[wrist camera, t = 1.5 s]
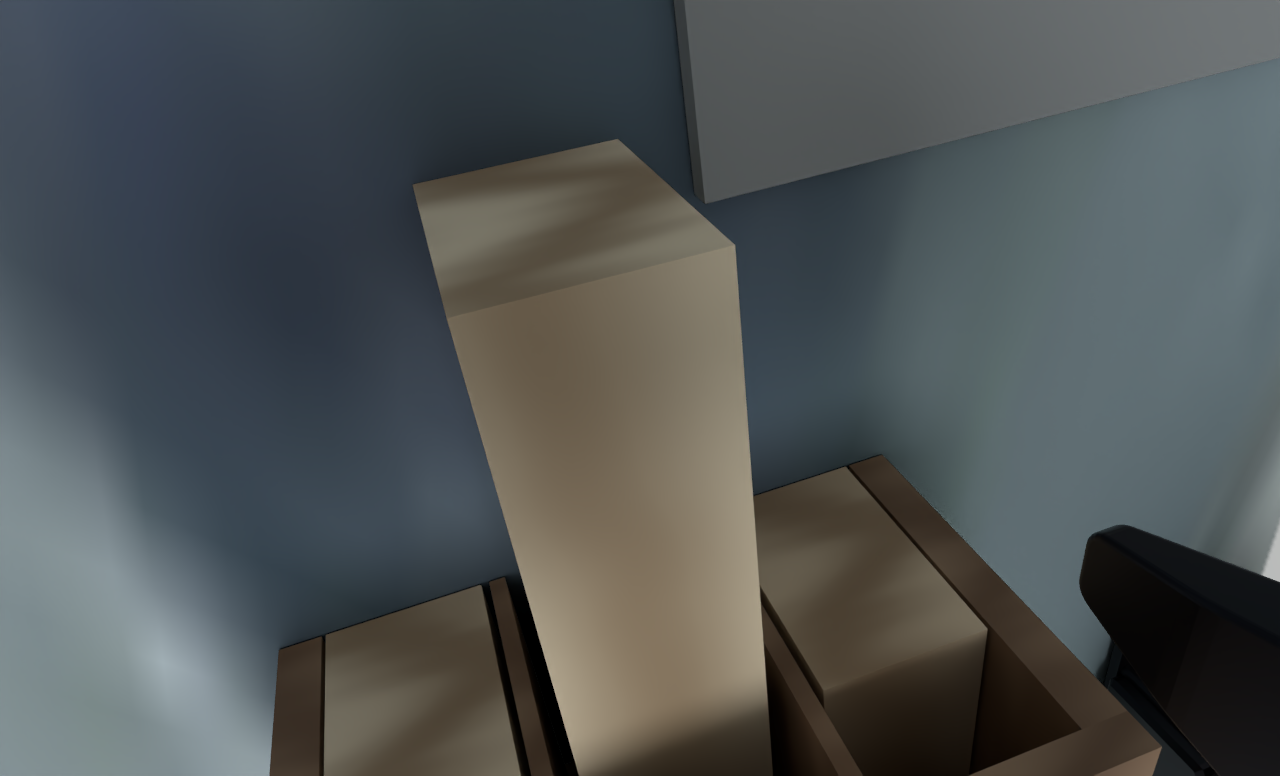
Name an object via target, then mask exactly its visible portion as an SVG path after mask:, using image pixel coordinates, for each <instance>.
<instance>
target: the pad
mask: <svg viewBox="0 0 1280 776" xmlns="http://www.w3.org/2000/svg"><path fill="white" fill-rule="evenodd" d="M674 9H675V18H676V27H677V37H678V46H679V55H680V64H681V74H682V83H683V92H684V101H685V110H686V120H687V129H688V138H689V147H690V156H691V166H692V175H693V184H694V193H695V196H697V197H698V198H699V199H700V200H701V201H702V202H703V203H705V204H707V203H711V202H715V201H719V200H723V199H727V198H731V197H734V196H738V195H742V194H746V193H750V192H754V191H758V190H762V189H766V188H770V187H774V186H778V185H782V184H786V183H789V182H793V181H797V180H801V179H805V178H809V177H813V176H817V175H821V174H825V173H829V172H833V171H837V170H841V169H845V168H848V167H852V166H856V165H860V164H864V163H868V162H872V161H876V160H880V159H884V158H888V157H892V156H896V155H900V154H903V153H907V152H911V151H915V150H919V149H923V148H927V147H931V146H935V145H939V144H943V143H947V142H951V141H955V140H959V139H962V138H966V137H970V136H974V135H978V134H982V133H986V132H990V131H994V130H998V129H1002V128H1006V127H1010V126H1014V125H1017V124H1021V123H1025V122H1029V121H1033V120H1037V119H1041V118H1045V117H1049V116H1053V115H1057V114H1061V113H1065V112H1069V111H1072V110H1076V109H1080V108H1084V107H1088V106H1092V105H1096V104H1100V103H1104V102H1108V101H1112V100H1116V99H1120V98H1124V97H1128V96H1131V95H1135V94H1139V93H1143V92H1147V91H1151V90H1155V89H1159V88H1163V87H1167V86H1171V85H1175V84H1179V83H1183V82H1186V81H1190V80H1194V79H1198V78H1202V77H1206V76H1210V75H1214V74H1218V73H1222V72H1226V71H1230V70H1234V69H1238V68H1242V67H1245V66H1249V65H1253V64H1257V63H1261V62H1265V61H1269V60H1273V59H1277V58H1280V0H674Z"/></svg>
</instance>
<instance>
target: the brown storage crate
mask: <svg viewBox="0 0 1280 776" xmlns="http://www.w3.org/2000/svg"><path fill="white" fill-rule="evenodd" d="M753 503H754V517H755V531H756V545H757V559H758V573H759V587H760V601H761V615H762V629H763V643H764V657H765V671H766V685H767V699H768V713H769V727H770V741H771V755H772V769H773V776H1152V775H1153V772H1154V769H1155V766H1156V763H1157V760H1158V757H1159V754H1160V751H1161V748H1162V746H1161V745H1160V744H1159V743H1158V742H1157V741H1156V740H1155V739H1154V738H1153V737H1152V736H1151V735H1150V734H1149V733H1148V732H1147V731H1146V730H1145V729H1144V727H1143V726H1142V725H1141V724H1140V723H1139V722H1138V721H1137V720H1136V719H1135V718H1134V717H1133V716H1132V715H1131V714H1130V713H1129V712H1128V711H1127V710H1126V709H1125V708H1124V707H1123V706H1122V705H1121V703H1120V702H1119V701H1118V700H1117V699H1116V698H1115V697H1114V696H1113V695H1112V694H1111V693H1110V692H1109V691H1108V690H1107V689H1106V688H1105V687H1104V686H1103V685H1102V684H1101V683H1100V682H1099V680H1098V679H1097V678H1096V677H1095V676H1094V675H1093V674H1092V673H1091V672H1090V671H1089V670H1088V669H1087V668H1086V667H1085V666H1084V665H1083V664H1082V663H1081V662H1080V661H1079V660H1078V659H1077V658H1076V656H1075V655H1074V654H1073V653H1072V652H1071V651H1070V650H1069V649H1068V648H1067V647H1066V646H1065V645H1064V644H1063V643H1062V642H1061V641H1060V640H1059V639H1058V638H1057V637H1056V636H1055V635H1054V633H1053V632H1052V631H1051V630H1050V629H1049V628H1048V627H1047V626H1046V625H1045V624H1044V623H1043V622H1042V621H1041V620H1040V619H1039V618H1038V617H1037V616H1036V615H1035V614H1034V613H1033V612H1032V611H1031V609H1030V608H1029V607H1028V606H1027V605H1026V604H1025V603H1024V602H1023V601H1022V600H1021V599H1020V598H1019V597H1018V596H1017V595H1016V594H1015V593H1014V592H1013V591H1012V590H1011V589H1010V588H1009V586H1008V585H1007V584H1006V583H1005V582H1004V581H1003V580H1002V579H1001V578H1000V577H999V576H998V575H997V574H996V573H995V572H994V571H993V570H992V569H991V568H990V567H989V566H988V565H987V564H986V562H985V561H984V560H983V559H982V558H981V557H980V556H979V555H978V554H977V553H976V552H975V551H974V550H973V549H972V548H971V547H970V546H969V545H968V544H967V543H966V542H965V541H964V539H963V538H962V537H961V536H960V535H959V534H958V533H957V532H956V531H955V530H954V529H953V528H952V527H951V526H950V525H949V524H948V523H947V522H946V521H945V520H944V519H943V518H942V517H941V515H940V514H939V513H938V512H937V511H936V510H935V509H934V508H933V507H932V506H931V505H930V504H929V503H928V502H927V501H926V500H925V499H924V498H923V497H922V496H921V495H920V494H919V492H918V491H917V490H916V489H915V488H914V487H913V486H912V485H911V484H910V483H909V482H908V481H907V480H906V479H905V478H904V477H903V476H902V475H901V474H900V473H899V472H898V471H897V470H896V468H895V467H894V466H893V465H892V464H891V463H890V462H889V461H888V460H887V459H886V458H885V457H884V456H883V455H880V456H877V457H874V458H870V459H867V460H864V461H861V462H858V463H855V464H852V465H849V470H848V469H847V468H846V467H843V468H840V469H836V470H833V471H830V472H827V473H824V474H821V475H818V476H815V477H812V478H809V479H806V480H803V481H799V482H796V483H793V484H790V485H787V486H784V487H781V488H778V489H775V490H772V491H769V492H766V493H762V494H759V495H756V496H753ZM489 584H490V589H491V593H492V598H493V603H494V607H495V612H496V616H497V621H498V625H499V630H500V635H501V639H502V643H501V641H500V638H499V635H498V632H497V629H496V626H495V623H494V620H493V617H492V615H491V612H490V609H489V606H488V603H487V600H486V597H485V594H484V592H483V589H482V586H481V585H478V586H475V587H472V588H469V589H466V590H463V591H460V592H457V593H454V594H451V595H448V596H445V597H441V598H438V599H435V600H432V601H429V602H426V603H423V604H420V605H417V606H414V607H411V608H408V609H404V610H401V611H398V612H395V613H392V614H389V615H386V616H383V617H380V618H377V619H374V620H370V621H367V622H364V623H361V624H358V625H355V626H352V627H349V628H346V629H343V630H340V631H337V632H333V633H330V634H327V635H326V644H325V642H324V640H323V638H322V636H321V637H318V638H315V639H312V640H309V641H306V642H303V643H299V644H296V645H293V646H290V647H287V648H284V649H281V650H279V655H278V668H277V682H276V695H275V709H274V722H273V735H272V749H271V762H270V776H579V774H578V771H577V767H576V764H575V761H572V762H570V763H567V764H565V762H564V759H563V756H562V753H561V750H560V747H559V744H558V741H557V737H556V734H555V731H554V728H553V725H552V722H551V719H550V716H549V713H548V710H547V706H546V703H545V700H544V697H543V694H542V691H541V688H540V685H539V682H538V679H537V676H536V672H535V669H534V666H533V663H532V660H531V657H530V654H529V651H528V648H527V645H526V641H525V638H524V635H523V632H522V629H521V626H520V623H519V620H518V617H517V614H516V610H515V607H514V604H513V601H512V598H511V595H510V592H509V589H508V586H507V583H506V579H505V577H503V578H500V579H497V580H494V581H491V582H489ZM502 644H503V646H502ZM503 648H504V649H503Z"/></svg>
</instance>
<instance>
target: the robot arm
mask: <svg viewBox="0 0 1280 776" xmlns="http://www.w3.org/2000/svg"><path fill="white" fill-rule="evenodd" d="M1079 585H1080V590H1081V593H1082V596H1083V598H1084V600H1085V601H1086V603H1087V605H1088V606H1089V607H1090V609H1091V610H1092V612H1093V613H1094V614H1095V616H1096V617H1097V619H1098V620H1099V621H1100V623H1101V624H1102V626H1103V627H1104V628H1105V630H1106V631H1107V633H1108V634H1109V635H1110V637H1111V638H1112V640H1113V641H1114V642H1115V644H1114V648H1113V652H1112V656H1111V659H1110V663H1109V667H1108V671H1107V675H1106V679H1105V683H1104V687H1105V688H1106V689H1107V690H1108V691H1109V692H1110V693H1111V694H1112V695H1113V696H1114V697H1115V698H1116V699H1117V700H1118V701H1119V702H1120V703H1121V705H1122V706H1123V707H1124V708H1125V709H1126V710H1127V711H1128V712H1129V713H1130V714H1131V715H1132V716H1133V717H1134V718H1135V719H1136V720H1137V721H1138V722H1139V723H1140V724H1141V725H1142V726H1143V727H1144V729H1145V730H1146V731H1147V732H1148V733H1149V734H1150V735H1151V736H1152V737H1153V738H1154V739H1155V740H1156V741H1157V742H1158V743H1159V744H1160V745H1161V746H1162V748H1161V751H1160V754H1159V757H1158V760H1157V763H1156V766H1155V769H1154V772H1153V775H1152V776H1280V582H1278V581H1275V580H1273V579H1270V578H1267V577H1265V576H1262V575H1259V574H1257V573H1254V572H1252V571H1249V570H1246V569H1244V568H1241V567H1238V566H1236V565H1233V564H1230V563H1228V562H1225V561H1222V560H1220V559H1217V558H1214V557H1212V556H1209V555H1206V554H1204V553H1201V552H1198V551H1196V550H1193V549H1191V548H1188V547H1185V546H1183V545H1180V544H1177V543H1175V542H1172V541H1169V540H1167V539H1164V538H1161V537H1159V536H1156V535H1153V534H1151V533H1148V532H1145V531H1143V530H1140V529H1137V528H1135V527H1132V526H1128V525H1116V526H1113V527H1110V528H1107V529H1104V530H1102V531H1099V532H1096V533H1094V534H1092V535H1091V536H1090V537H1089V539H1088V541H1087V545H1086V549H1085V554H1084V559H1083V564H1082V569H1081V574H1080V579H1079Z"/></svg>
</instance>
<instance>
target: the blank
mask: <svg viewBox="0 0 1280 776" xmlns="http://www.w3.org/2000/svg"><path fill="white" fill-rule="evenodd" d="M413 189H414V193H415V197H416V201H417V205H418V209H419V213H420V216H421V220H422V224H423V228H424V232H425V236H426V240H427V244H428V248H429V252H430V255H431V259H432V263H433V267H434V271H435V275H436V279H437V283H438V287H439V291H440V295H441V298H442V302H443V306H444V310H445V314H446V318H447V321H448V325H449V328H450V332H451V335H452V339H453V342H454V346H455V349H456V353H457V356H458V359H459V363H460V366H461V370H462V373H463V377H464V380H465V384H466V387H467V391H468V394H469V397H470V401H471V404H472V408H473V411H474V415H475V418H476V422H477V425H478V429H479V432H480V435H481V439H482V442H483V446H484V449H485V453H486V456H487V460H488V463H489V467H490V470H491V473H492V477H493V480H494V484H495V487H496V491H497V494H498V498H499V501H500V505H501V508H502V511H503V515H504V518H505V522H506V525H507V529H508V532H509V536H510V539H511V543H512V546H513V549H514V553H515V556H516V560H517V563H518V567H519V570H520V574H521V577H522V581H523V584H524V587H525V591H526V594H527V598H528V601H529V605H530V608H531V612H532V615H533V619H534V622H535V625H536V629H537V632H538V636H539V639H540V643H541V646H542V650H543V653H544V657H545V660H546V663H547V667H548V670H549V674H550V677H551V681H552V684H553V688H554V691H555V695H556V698H557V701H558V705H559V708H560V712H561V715H562V719H563V722H564V726H565V729H566V733H567V736H568V739H569V743H570V746H571V750H572V753H573V757H574V760H575V764H576V767H577V771H578V774H579V776H773V769H772V755H771V741H770V727H769V713H768V699H767V685H766V671H765V657H764V643H763V629H762V615H761V601H760V587H759V573H758V559H757V545H756V531H755V517H754V503H753V489H752V475H751V461H750V447H749V433H748V419H747V405H746V391H745V377H744V362H743V348H742V334H741V320H740V306H739V292H738V278H737V264H736V250H735V245H734V244H733V243H732V242H731V241H730V240H729V239H728V238H727V237H726V236H725V235H723V234H722V233H721V232H720V231H719V230H718V229H717V228H716V227H715V226H713V225H712V224H711V223H710V222H709V221H708V220H707V219H706V218H705V217H704V216H702V215H701V214H700V213H699V212H698V211H697V210H696V209H695V208H694V207H693V206H691V205H690V204H689V203H688V202H687V201H686V200H685V199H684V198H683V197H681V196H680V195H679V194H678V193H677V192H676V191H675V190H674V189H673V188H672V187H670V186H669V185H668V184H667V183H666V182H665V181H664V180H663V179H662V178H661V177H659V176H658V175H657V174H656V173H655V172H654V171H653V170H652V169H651V168H649V167H648V166H647V165H646V164H645V163H644V162H643V161H642V160H641V159H640V158H638V157H637V156H636V155H635V154H634V153H633V152H632V151H631V150H630V149H628V148H627V147H626V146H625V145H624V144H623V143H622V142H621V141H620V140H619V139H615V140H611V141H606V142H602V143H597V144H593V145H588V146H584V147H579V148H575V149H570V150H566V151H561V152H557V153H552V154H548V155H543V156H539V157H534V158H530V159H525V160H521V161H516V162H512V163H507V164H503V165H498V166H494V167H489V168H485V169H480V170H476V171H471V172H467V173H462V174H458V175H453V176H449V177H444V178H440V179H435V180H431V181H426V182H422V183H417V184H413Z"/></svg>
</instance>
